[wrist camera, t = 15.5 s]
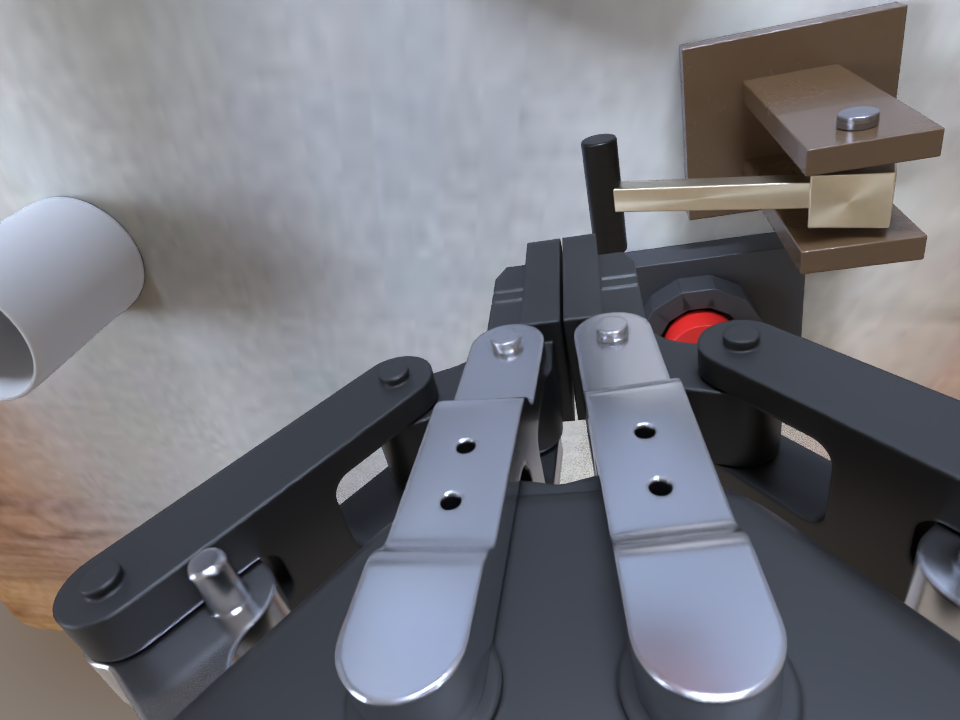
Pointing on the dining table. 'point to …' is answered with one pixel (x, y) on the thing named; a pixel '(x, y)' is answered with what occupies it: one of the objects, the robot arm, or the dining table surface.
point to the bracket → (807, 122)
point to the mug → (59, 286)
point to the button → (693, 325)
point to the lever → (732, 195)
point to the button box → (722, 282)
